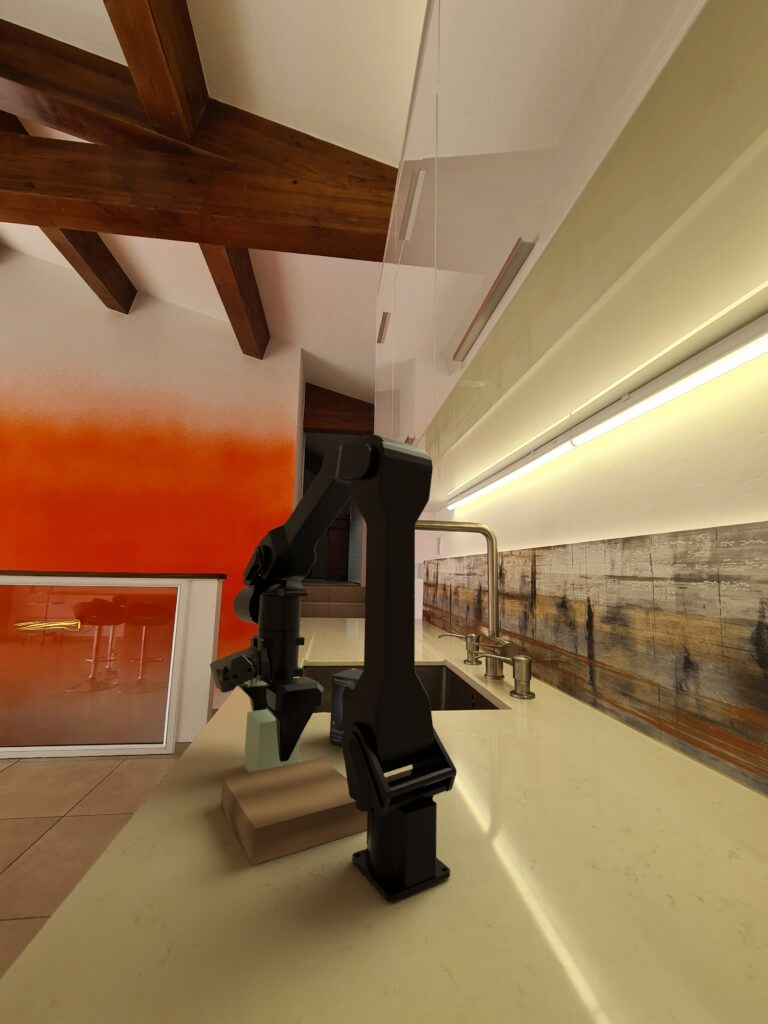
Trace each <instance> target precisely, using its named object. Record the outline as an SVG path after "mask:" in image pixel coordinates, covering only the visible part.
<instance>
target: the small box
mask: <svg viewBox="0 0 768 1024" xmlns="http://www.w3.org/2000/svg"><path fill="white" fill-rule="evenodd" d="M362 672H363V669H360V668H353V667H352V668H348V669H346V670H343V671H340V672H338V673H337V672H336V673H334V674H332V675H331V678H332V679H331V697H330V698H331V699H330V701H331V702H330V722H329V724H330V725H329V742H328V743H329V744H333V745H336V746H341V747H342V736H343V731H340V726H341V723H342V715H343V707H342V694H343V691H344V688H345V687H346V686H351V685H356V683H357V682H358V680H359V678H360V676H361V674H362Z"/></svg>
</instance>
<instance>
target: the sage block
mask: <svg viewBox="0 0 768 1024" xmlns="http://www.w3.org/2000/svg"><path fill="white" fill-rule="evenodd" d="M245 730H246V731H245V744H244V759H243V760H244V761H243V767H244V769H245V770H246V771H247V773H248V772H253V771H258V770H263V769H268V768H273V767H278V766H283V765H288V764H292V763H297V762H299V754H300V739H301V737H300V738H299V740H298V742H297V744H296V746H295V748H294V750H293V752H292V754H291V756H290V758H289V760H288V761H284V762H281V761H280V760H279V752H278V740H277V726H276V718H275V717H274V716H273V715H272V714H271V713H270V712H269V711H268V710H267V709H266V710H258V711H252V710H251V711H247V715H246V729H245Z"/></svg>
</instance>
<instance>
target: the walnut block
mask: <svg viewBox="0 0 768 1024" xmlns="http://www.w3.org/2000/svg"><path fill="white" fill-rule="evenodd" d="M221 784H222V785H221V797H220V809H221V810H222V812H223V813H224V816H225V818H226V820H227V822H228V823H229V825H230V827H231V828H232V831H233V832H234V834H235V836H236V838H237V840H238V842H239V843H240V845H241V847H242V849H243V850H244V852H245V854H246V856H247V858H248V860H249V862H250V864H251V865H252V866H256V865H259V864H262V863H265V862H268V861H272V860H275V859H279V858H281V857H284V856H288V855H291V854H294V853H298V852H300V851H304V850H307V849H311V848H313V847H314V848H315V847H317V846H320V845H323V844H325V843H329V842H333V841H335V840H336V841H337V840H340V839H342V838H345V837H349V836H351V835H355V834H358V833H361V832H364V831H367V811H360V810H358V809H357V808H356V801H355V800H354V799H352V798H351V797H350V795H349V789H348V783H347V776H344V775H343V774H342V773H341V772H339V770H337V769H336V768H334V766H332V765H331V764H330V763H328V762H327V761H326V760H325V759H323V758H322V757H318V758H313V759H308V760H303V761H298V762H297V763H292V764H288V765H283V766H278V767H273V768H268V769H263V770H258V771H253V772H248V771H247V772H244V773H240V774H234V775H228V776H224V777H222V783H221Z"/></svg>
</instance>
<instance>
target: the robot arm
mask: <svg viewBox="0 0 768 1024" xmlns="http://www.w3.org/2000/svg"><path fill="white" fill-rule="evenodd" d="M433 468H434V466H433V460H432V457H431V455H430V454H429V453H427V452H426V450H425V449H424V448H422V447H420V446H417V445H414V444H409V443H405V442H403V441H401V440H400V441H398V440H395V439H392V438H389V437H384V436H381V435H378V434H371V435H368V436H366V437H365V438H364V439H363V440H362V441H361V442H356V443H344V444H341V445H340V447H339V448H331V449H329V450H327V451H326V452H325V454H324V456H323V458H322V462H321V468H320V470H319V471H318V473H317V475H316V476H315V478H314V479H313V480H312V482H311V483H310V485H309V486H308V488H307V489H306V491H305V493H304V495H303V496H302V497H301V499H300V500H299V502H298V503H297V505H296V507H294V510H293V511H292V513H291V514H290V516H289V517H288V519H287V520H286V521H285V522H284V523H282V524H281V525H278V526H276V527H274V528H272V529H270V530H269V531H268V532H267V533H266V534H265V535H264V536H263V537H262V538H261V540H260V541H259V542H258V545H257V546H256V547H255V548H254V551H253V553H252V555H251V558H250V559H249V561H248V564H246V568H245V569H244V571H243V574H242V575H243V579H242V585H243V586H244V587H243V588H241V589H240V590H239V591H238V592H237V593H236V595H235V597H234V600H233V603H232V606H233V607H232V608H233V612H234V614H235V615H236V617H237V618H238V619H239V620H241V621H242V622H245V623H250V624H255V625H257V633H256V634H255V635H252V637H251V638H250V641H249V643H250V644H249V647H247V648H245V649H241V650H238V651H236V652H235V651H234V652H233V653H231V654H228V655H226V656H224V657H221V658H218V659H216V660H214V661H212V662H211V663H210V664H209V667H210V671H211V673H212V678H213V681H214V684H215V687H216V688H217V689H219V691H220V693H229V692H231V691H234V690H235V689H236V687H238V688H239V689H241V690H242V692H243V693H245V695H247V696H248V698H249V701H250V706H251V711H258V710H266V709H267V710H268V711H269V712H270V713H271V714H272V715H273V716H274V717H275V718H276V726H277V740H278V752H279V760H280V761H281V762H284V761H288V760H289V758H290V756H291V754H292V752H293V750H294V748H295V746H296V744H297V742H298V740H299V741H300V739H301V736H302V734H303V732H304V731H305V728H306V726H307V725H308V723H309V722H310V719H311V717H312V716H313V714H314V713H315V712H316V711H318V710H319V709H318V708H319V707H322V706H323V705H324V702H325V700H324V699H325V688H324V686H322V685H321V683H320V682H318V681H316V680H314V679H313V678H310V677H308V676H304V667H303V668H302V667H300V666H299V657H300V656H299V652H300V646H305V641H306V640H305V637H304V636H300V635H301V613H302V597H303V598H304V597H305V598H306V597H308V596H309V592H308V590H307V588H306V587H305V586H304V585H303V583H302V581H303V580H304V579H305V578H306V577H307V576H308V574H309V573H310V571H311V569H312V567H313V565H314V563H315V562H316V560H317V554H316V546H317V544H318V542H319V541H320V540H321V538H322V537H323V535H324V534H325V533H326V532H327V530H328V528H330V526H331V525H332V523H333V522H334V521H335V519H337V517H338V515H339V514H340V512H341V511H342V510H343V509H344V507H345V506H346V504H347V503H348V501H349V500H350V499H351V497H352V501H354V503H355V505H356V507H357V509H358V510H359V512H360V514H361V516H362V518H363V520H364V522H365V525H366V527H365V528H366V541H365V542H366V543H365V544H366V545H365V546H366V547H365V587H364V588H365V591H364V594H365V595H364V599H365V600H364V603H365V604H364V639H363V642H364V645H363V646H364V647H363V648H364V649H363V652H364V653H363V669H362V670H363V672H362V674H361V676H360V678H359V680H358V682H357V683H356V685H351V686H346V687H345V688H344V691H343V694H342V707H343V715H342V723H341V726H340V731H343V736H342V746H341V747H342V752H343V754H342V755H343V759H344V768H345V775H346V778H347V783H348V789H349V795H350V797H351V798H352V799H354V800H355V801H356V808H357V809H358V810H360V811H367V830H366V848H364V849H361V850H359V851H355V852H353V853H352V855H351V860H352V861H351V862H352V863H353V864H354V865H355V866H356V868H358V869H359V871H360V872H361V873H362V874H363V875H364V876H365V878H367V879H368V881H369V882H370V883H371V884H372V885H373V886H374V887H375V889H377V891H378V892H379V893H380V894H381V895H382V897H383V898H384V899H385V900H386V901H389V902H394V901H397V900H399V899H402V898H405V897H406V896H409V895H411V894H414V893H416V892H418V891H421V890H423V889H426V888H427V887H431V886H433V885H435V884H437V883H439V882H442V881H444V880H447V879H449V878H450V877H451V869H450V868H449V866H447V865H446V863H444V862H443V861H442V860H440V859H439V858H438V857H437V831H438V830H437V821H438V820H437V818H438V817H437V815H438V813H437V812H438V811H437V810H438V809H437V807H438V803H437V802H436V801H434V796H437V795H439V794H441V793H444V792H450V791H451V790H453V786H454V784H455V780H456V776H457V772H458V770H457V768H456V766H455V764H454V763H453V761H452V759H451V757H450V755H449V753H448V751H447V750H446V748H445V746H444V744H443V742H442V740H441V738H440V737H439V735H438V733H437V731H436V729H435V727H434V723H433V722H434V721H433V714H432V706H431V699H430V697H429V695H428V692H427V691H426V689H425V687H424V685H423V683H422V682H421V679H420V677H419V676H418V674H417V673H416V665H415V663H416V661H415V659H416V655H415V652H416V651H415V649H416V645H415V644H416V642H415V641H416V637H415V636H416V633H415V632H416V630H415V629H416V628H415V626H416V623H415V621H416V619H415V617H416V615H415V614H416V609H415V607H416V606H415V605H416V585H415V584H416V583H415V582H416V524H417V523H418V520H419V519H420V517H421V515H422V513H423V511H424V510H425V509H426V507H427V505H428V503H429V501H430V497H431V496H430V495H431V488H432V481H433V480H432V479H433ZM299 738H300V739H299ZM409 766H412V768H410V769H407V770H403V771H401V772H397V773H395V774H391V775H389V776H386V775H385V774H387V773H391V772H394V771H396V770H399V769H403V768H406V767H409Z"/></svg>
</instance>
